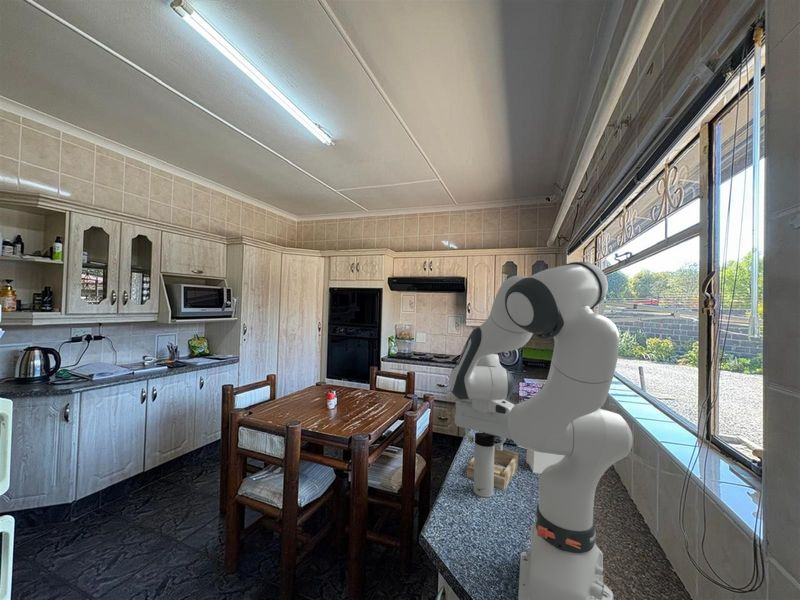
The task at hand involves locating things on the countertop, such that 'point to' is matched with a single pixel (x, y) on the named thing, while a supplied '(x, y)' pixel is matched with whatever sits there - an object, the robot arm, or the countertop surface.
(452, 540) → the countertop surface
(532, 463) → the milk
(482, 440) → the travel mug
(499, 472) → the offcut top
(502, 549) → the countertop surface
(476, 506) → the countertop surface
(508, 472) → the birch rack
